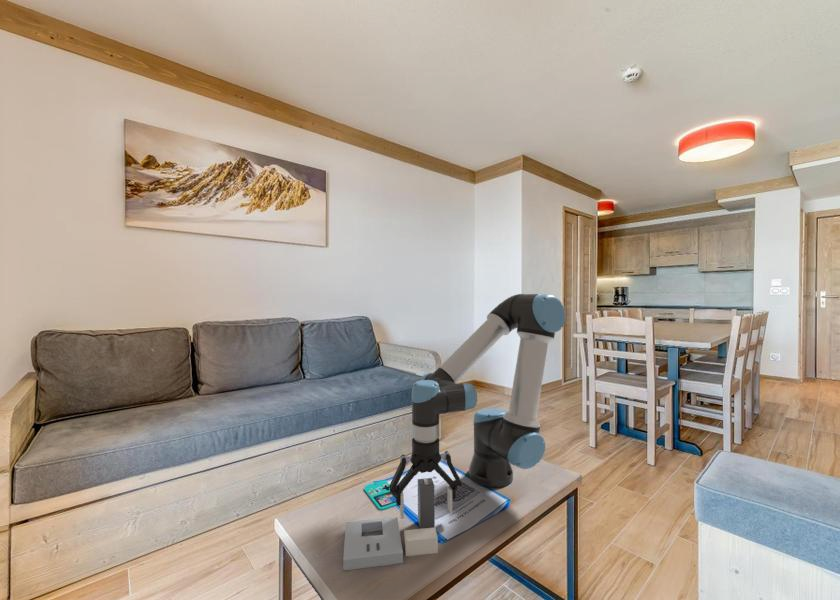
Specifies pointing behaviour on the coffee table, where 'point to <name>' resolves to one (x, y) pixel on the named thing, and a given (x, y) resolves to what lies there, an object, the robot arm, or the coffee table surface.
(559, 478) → the coffee table surface
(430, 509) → the charger brick
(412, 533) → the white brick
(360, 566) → the outlet plate
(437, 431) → the robot arm
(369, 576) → the coffee table surface
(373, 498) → the handheld gaming console
